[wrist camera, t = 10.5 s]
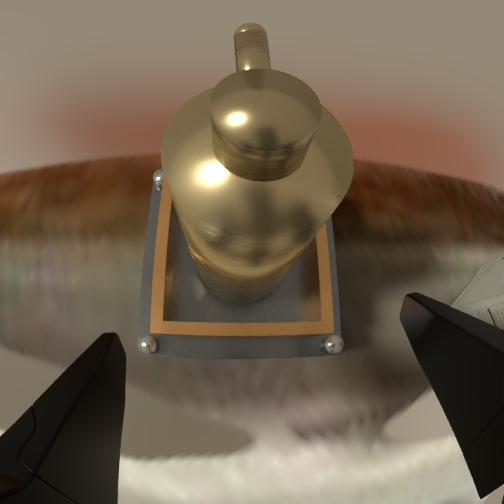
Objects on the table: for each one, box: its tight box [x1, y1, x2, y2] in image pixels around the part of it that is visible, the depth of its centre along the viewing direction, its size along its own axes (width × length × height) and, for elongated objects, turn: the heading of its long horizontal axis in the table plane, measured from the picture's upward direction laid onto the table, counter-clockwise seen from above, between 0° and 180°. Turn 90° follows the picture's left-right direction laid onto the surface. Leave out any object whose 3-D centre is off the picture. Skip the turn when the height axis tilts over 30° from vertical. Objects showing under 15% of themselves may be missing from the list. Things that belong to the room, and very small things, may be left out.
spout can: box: [161, 23, 354, 303], centre depth 11 cm, size 6×5×12 cm
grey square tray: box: [137, 169, 344, 359], centre depth 17 cm, size 11×11×5 cm
